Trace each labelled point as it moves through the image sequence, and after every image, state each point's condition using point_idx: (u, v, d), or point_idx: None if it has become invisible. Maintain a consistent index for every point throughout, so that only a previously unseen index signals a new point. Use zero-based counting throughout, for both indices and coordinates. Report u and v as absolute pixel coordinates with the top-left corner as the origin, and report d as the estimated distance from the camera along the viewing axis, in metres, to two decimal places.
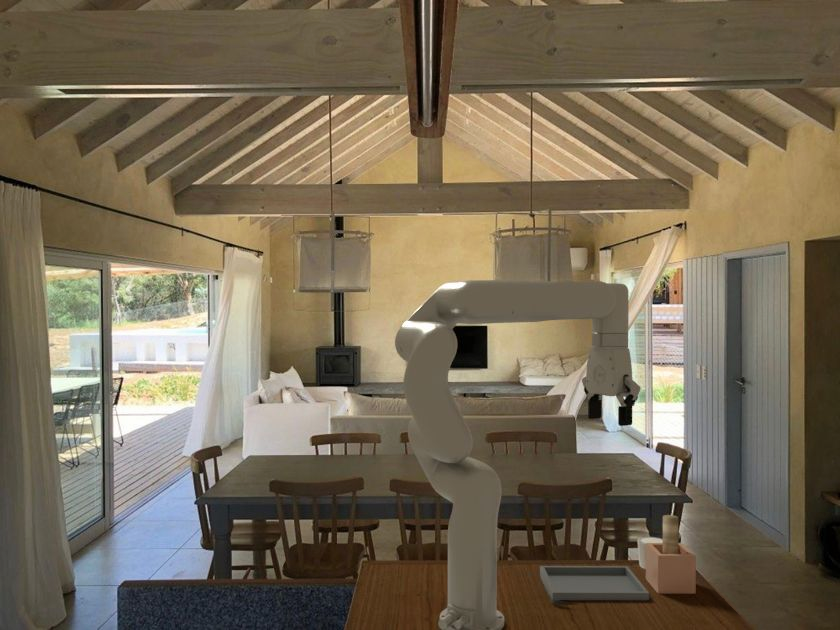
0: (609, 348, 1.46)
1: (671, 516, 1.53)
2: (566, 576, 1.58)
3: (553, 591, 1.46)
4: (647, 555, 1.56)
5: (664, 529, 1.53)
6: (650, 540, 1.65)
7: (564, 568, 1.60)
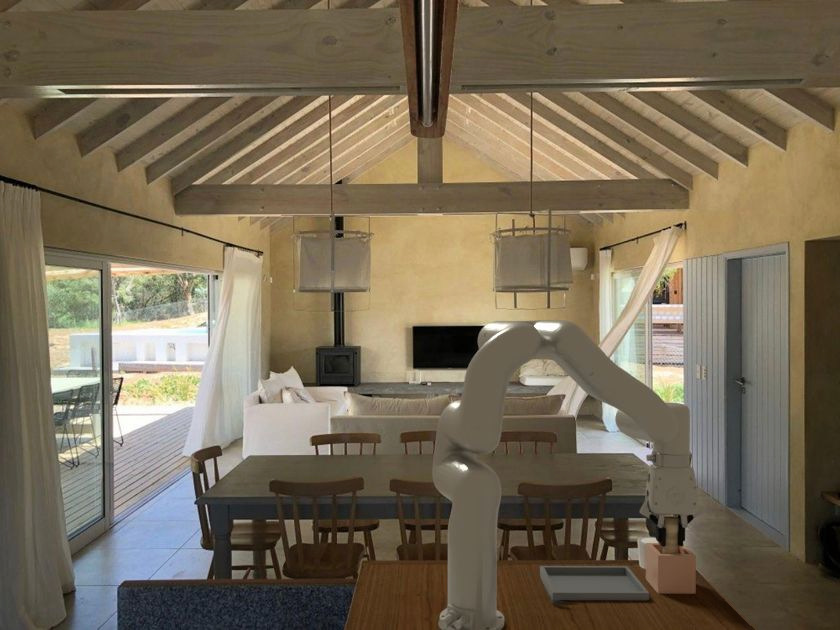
0: (688, 468, 1.50)
1: (671, 516, 1.53)
2: (566, 576, 1.58)
3: (553, 591, 1.46)
4: (647, 555, 1.56)
5: None
6: (650, 540, 1.65)
7: (564, 568, 1.60)
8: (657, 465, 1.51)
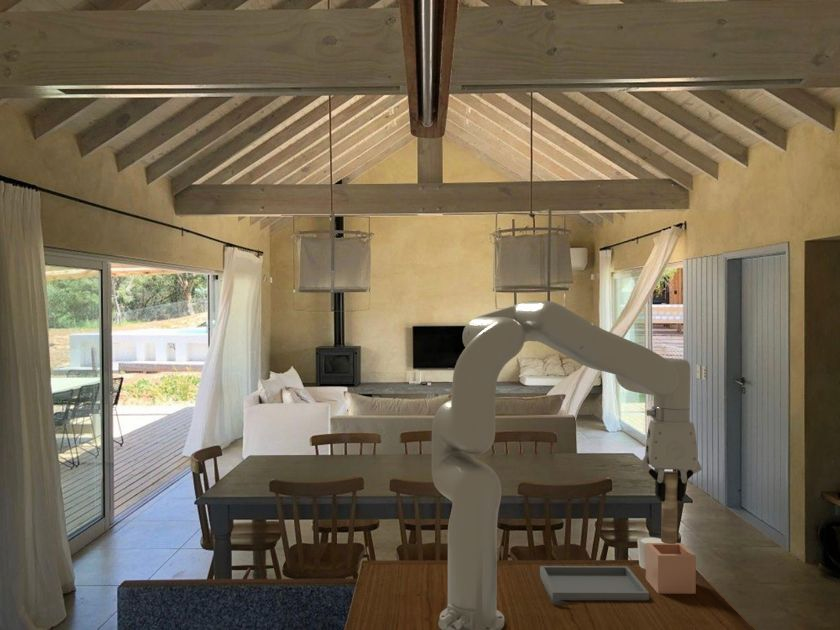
0: (688, 423, 1.50)
1: (671, 472, 1.53)
2: (566, 576, 1.58)
3: (553, 591, 1.46)
4: (647, 555, 1.56)
5: None
6: (650, 540, 1.65)
7: (564, 568, 1.60)
8: (657, 420, 1.51)
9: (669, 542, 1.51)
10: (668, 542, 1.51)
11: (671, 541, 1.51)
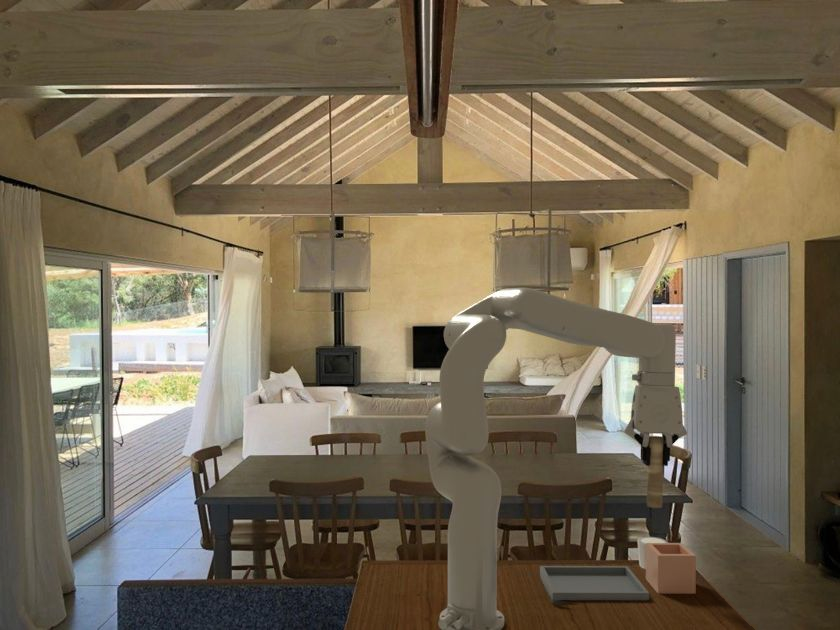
0: (673, 387, 1.50)
1: (656, 436, 1.53)
2: (566, 576, 1.58)
3: (553, 591, 1.46)
4: (647, 555, 1.56)
5: None
6: (650, 540, 1.65)
7: (564, 568, 1.60)
8: (642, 384, 1.51)
9: (654, 506, 1.51)
10: (653, 506, 1.51)
11: (656, 505, 1.51)
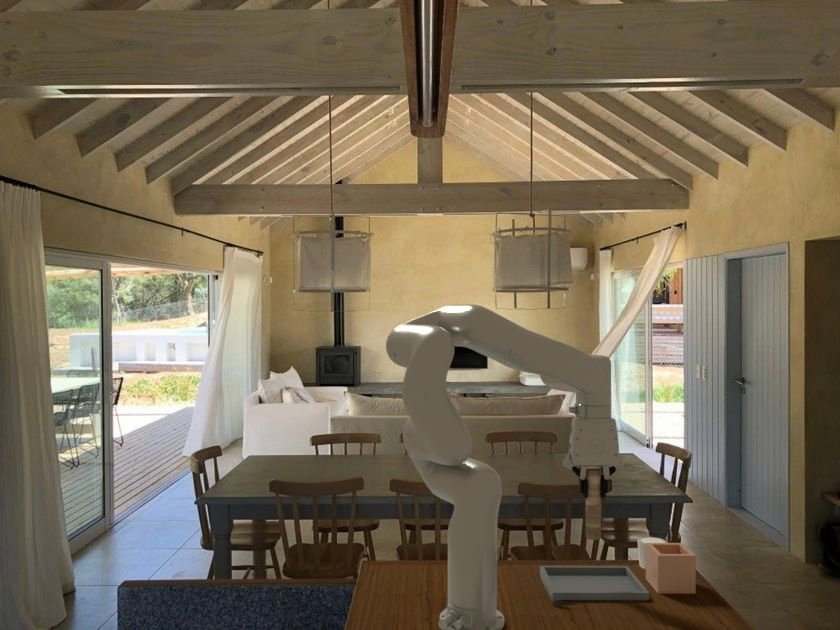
0: (609, 419, 1.50)
1: (594, 468, 1.53)
2: (566, 576, 1.58)
3: (553, 591, 1.46)
4: (647, 555, 1.56)
5: None
6: (650, 540, 1.65)
7: (564, 568, 1.60)
8: (579, 417, 1.51)
9: (593, 538, 1.52)
10: (592, 538, 1.52)
11: (594, 537, 1.52)
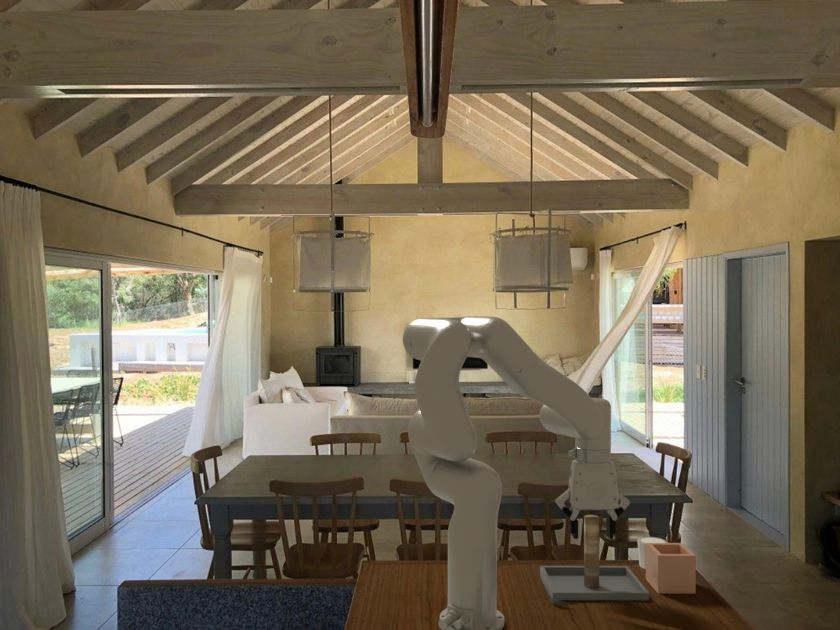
0: (608, 463, 1.50)
1: (592, 516, 1.53)
2: (566, 576, 1.58)
3: (553, 591, 1.46)
4: (647, 555, 1.56)
5: (585, 529, 1.52)
6: (650, 540, 1.65)
7: (564, 568, 1.60)
8: (578, 460, 1.51)
9: (591, 587, 1.52)
10: (590, 587, 1.52)
11: (593, 586, 1.52)
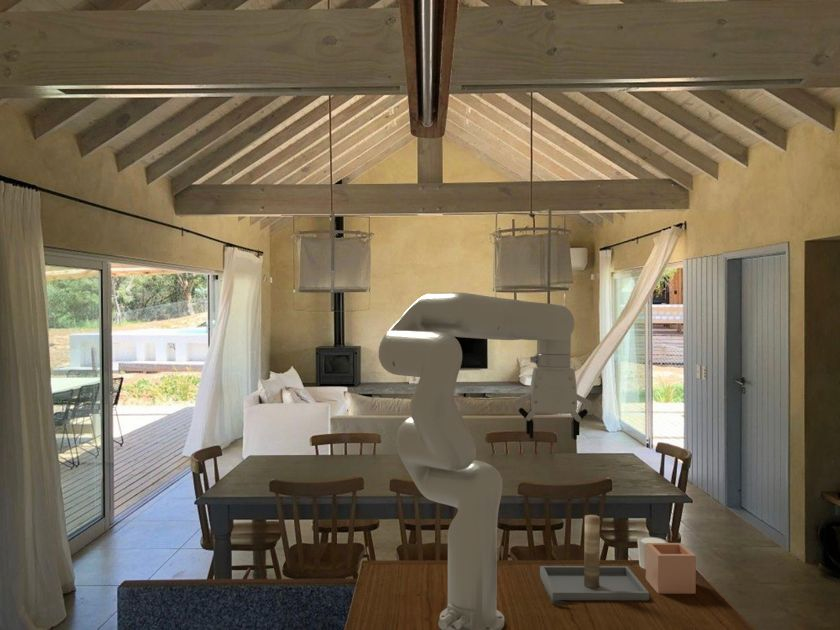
0: (567, 368, 1.56)
1: (593, 516, 1.53)
2: (566, 576, 1.58)
3: (553, 591, 1.46)
4: (647, 555, 1.56)
5: (585, 528, 1.52)
6: (650, 540, 1.65)
7: (564, 568, 1.60)
8: (538, 366, 1.57)
9: (591, 587, 1.52)
10: (590, 587, 1.52)
11: (593, 586, 1.52)
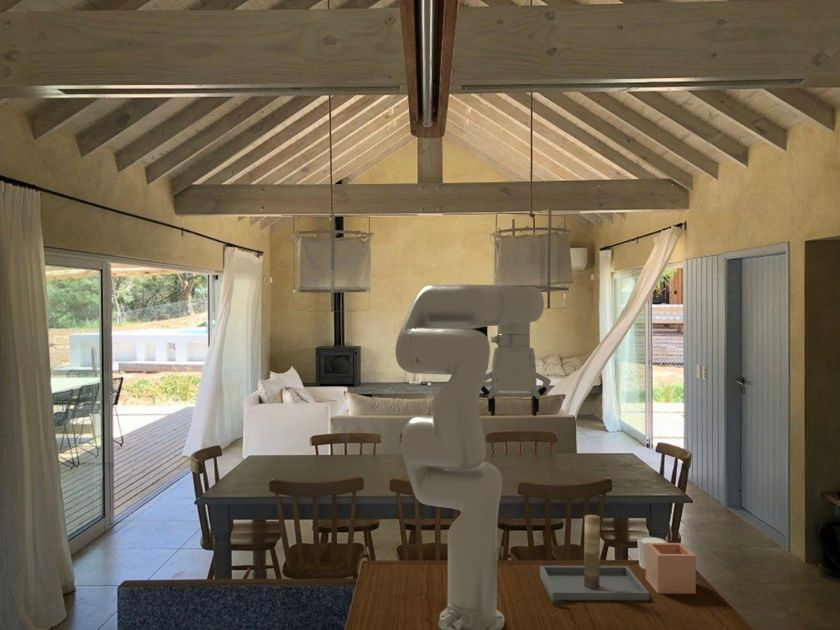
0: (527, 348, 1.62)
1: (593, 516, 1.53)
2: (566, 576, 1.58)
3: (553, 591, 1.46)
4: (647, 555, 1.56)
5: (585, 528, 1.52)
6: (650, 540, 1.65)
7: (564, 568, 1.60)
8: (499, 345, 1.63)
9: (591, 587, 1.52)
10: (590, 587, 1.52)
11: (593, 586, 1.52)
